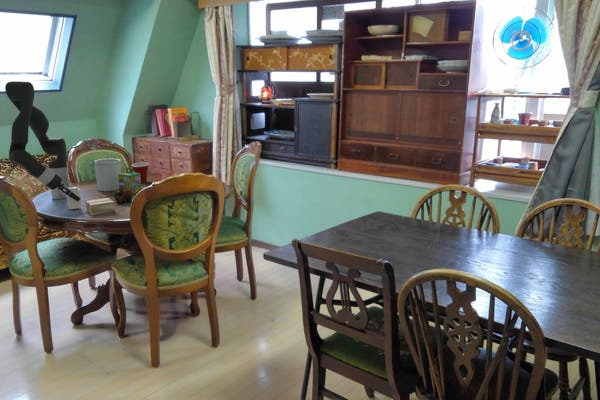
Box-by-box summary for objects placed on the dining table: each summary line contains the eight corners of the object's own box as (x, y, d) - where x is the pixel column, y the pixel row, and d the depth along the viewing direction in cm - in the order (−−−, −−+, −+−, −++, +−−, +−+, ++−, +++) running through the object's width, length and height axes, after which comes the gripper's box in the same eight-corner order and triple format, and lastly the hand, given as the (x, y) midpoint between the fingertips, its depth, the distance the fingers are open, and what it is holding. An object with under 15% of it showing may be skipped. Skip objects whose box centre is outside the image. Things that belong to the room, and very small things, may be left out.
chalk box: (118, 194, 288) (116, 168, 284) (129, 190, 296) (127, 166, 292) (131, 195, 284) (129, 169, 281) (142, 192, 293) (140, 167, 289)
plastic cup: (129, 183, 317) (127, 164, 314) (139, 180, 327) (137, 162, 324) (143, 184, 314) (142, 165, 311) (153, 181, 324) (152, 162, 321)
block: (86, 210, 252) (85, 200, 250) (109, 207, 258) (108, 197, 256) (91, 215, 243) (90, 205, 242) (115, 211, 249) (114, 201, 248)
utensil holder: (128, 188, 303) (125, 159, 299) (107, 192, 291) (104, 162, 287) (112, 185, 311) (110, 157, 307) (91, 189, 299) (88, 160, 295)
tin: (67, 207, 255) (65, 187, 253) (79, 205, 258) (77, 186, 256) (70, 209, 251) (67, 189, 248) (81, 207, 254) (79, 188, 251)
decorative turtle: (122, 205, 261) (120, 190, 259) (109, 203, 271) (106, 188, 269) (139, 201, 268) (137, 186, 266) (125, 199, 278) (123, 184, 276)
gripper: (57, 174, 240) (86, 195, 249) (51, 170, 251) (79, 190, 261) (46, 187, 238) (75, 207, 248) (41, 182, 250) (69, 201, 259)
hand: (77, 198), depth 254 cm, fingers closed on tin, 5 cm apart
